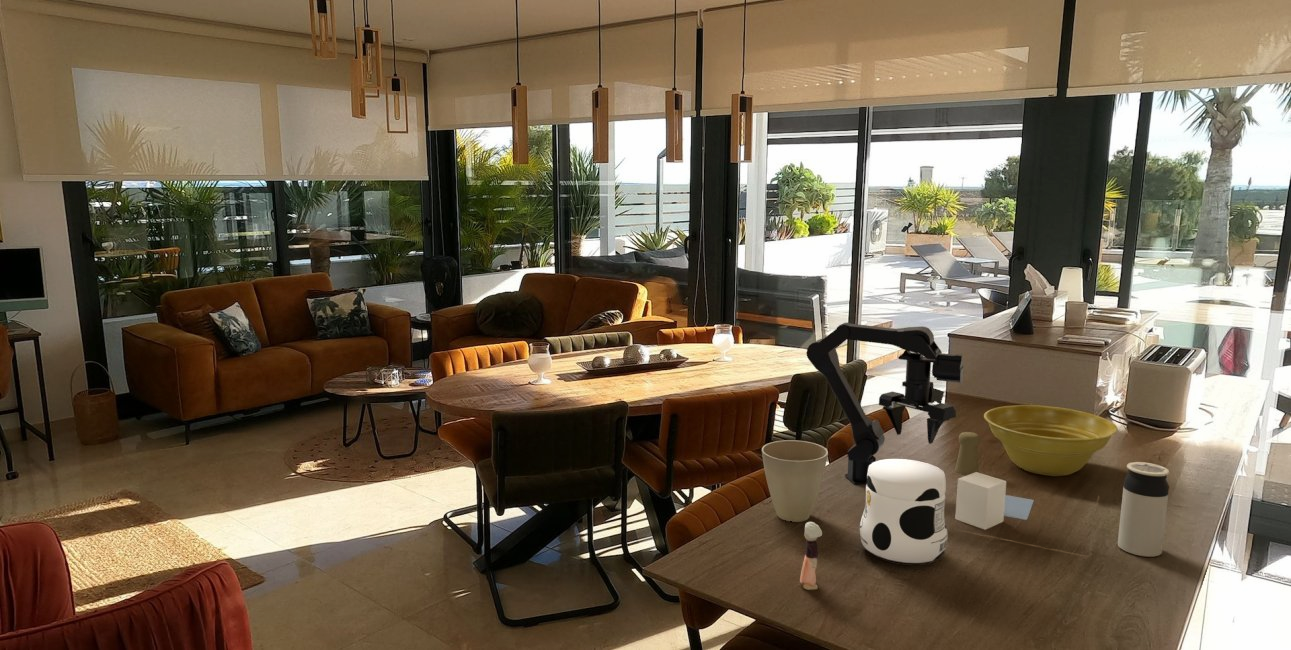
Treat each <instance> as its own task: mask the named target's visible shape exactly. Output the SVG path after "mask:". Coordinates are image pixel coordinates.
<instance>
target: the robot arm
mask: <svg viewBox="0 0 1291 650" xmlns="http://www.w3.org/2000/svg"><path fill="white" fill-rule="evenodd" d="M847 340H849V341H855V342H856V341H858V342H866V343H874V344H875V343H876V344H882V345H890V346H894V347H897V348H898V349H899V348H900V349H902V350H904V351H903V352H902V353H901V354H900V355H899V356H898V357H897V358H898V360H902V361H903V360H904V361H906V368H905V369H906V370H905V380H904V381H902V382H901V383H902V384H901V385H902V387H904V393H900V392H897V391H888V392H885V393H881V394H880V396H879V397H878V405H879V406H882V409H883V410H885V412H886V414H887V415H888V417H889V419H890V422H891V424H892V426H893V428H894V431H895V433H896V435H897V436H898V435H901V434H902V430H903V414H904V410H906V409H905V408H910V409H914V410H918V411H922V412H926V413H927V415H928V416H929V417H928V418H926V431H927V440H928V441H927V442H928V445H929V444H930V445H931V444H933V443H934V441H935V438H936V436H937V434H938V432H939V430H940V428H941V426H942V424H944V422H946V421H950V420H951V419H954V418H956V416H957V415H956V414H957V410H956V408H955V406H954V405H951V404H946V403H943V402H942V401H943V397H944V394H945V391H944V390H940V389H938V388H935V387H934V382H933V381H931V375H932V376H933V378H936V381H943V382H949V383H960V384H961V383H962V382H963V379H964V371H965V365H964V359H963V357H964V355H963V354H960V353H954V354H952V353H942V350H941V349H940V347H939V346H938V344H937V343H936V342H935V337H934V333H933V331H932V330H931V329H930V328H929V327H926V326H923V325H922V326H909V327H908V326H907V327H900V328H892V327H882V326H876V325H875V326H873V325H866V324H856V323H851V322H843V323H841V324H839V325H838V326H836V328H835V329H834V330H833V331H832V332H831V333H829V334H828V335H827V336H825V337H824V338H820V339H817V340H816V341H814V342H812V343H811V344H809V346H808V347H807V349H806V357H807V359H808V361H809V362H810V363H811V364H812V365H813V367H814V369H816V370H817V371H818V372H819V373H820V374H821V375H822V376H824V378H825V379H826V382H827V383H828V385H829V386H830V389H831V391H832V393H833V395H834V396H835V397H836V399H837V402H838V403H839V405H840V407H841V410H843V413H844V415H845V416H846V418H847V420H848V422H849V424H850V426H851V433H852V438H853V441H854V444H853V445H852V446H851V447H850V448H849V450H847V452H846V455H847V458H848V459H847V473H844V477H845V478H846V479H847V480H849V481H851V483H852V484H854V485H862V484H867V473H868V467H869V465H870V464H872V463H873V462H876V461H877V458H876V457H875V456H874V455H876V454H877V453H878V452H879V451H880V450H881V448H882V447H883V446H884V444H885V440H886V439H885V435H884V434H885V433H886V432H885V430H883V429H882V427H881V424H880V422H879V420H878V419H877V418H876V419H874V420H872V419H870V418H869V417H868V416H867V414H866V413H865V411H864V409H863V407H862V405H861V403H860V402H859V399H858V398H857V397H856V395H855V393H854V391H853V389H852V387H851V386H850V383H849V382H848V380H847V378H846V376H845V375H844V372H843V370H842V369H841V367H840V360H839V355H838V352H837V350H836V349H837V348H838V347H839V346H841V345H842V344H843V343H845V342H846V341H847ZM934 403H936V404H934ZM931 404H932V405H931Z"/></svg>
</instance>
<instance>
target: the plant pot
mask: <svg viewBox="0 0 1291 650" xmlns="http://www.w3.org/2000/svg"><path fill="white" fill-rule="evenodd" d="M761 454H762V455H761V456H762V461H763V463H762V464H763V468H764V474H765V478H766V482H767V487H768V490H769V494H770V497H771V500H772V504H773V507H774V509H775V513H776V515H777V517H778V518H779V519H781V520H783V521H785V520H786V522H790V521H792V522H794V523H801V522H805V521H807V520H808V519H809V518H810V517H811V515H812V512H813V509H814V508H815V505H816V502H817V500H818V496H819V493H820V490H821V487H822V483H823V480H824V476H825V475H824V474H825V472H826V465H827V461H828V454H829V452H828V449H827V448H826V447H825V446H823V445H820V444H817V443H815V442H810V441H805V440H796V439H795V440H792V439H791V440H789V439H788V440H786V439H785V440H776V441H773V442H769V443H766V444H765V445H763V446H762V448H761Z"/></svg>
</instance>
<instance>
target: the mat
mask: <svg viewBox="0 0 1291 650" xmlns="http://www.w3.org/2000/svg"><path fill="white" fill-rule="evenodd" d="M1034 502H1035V500H1034V499H1031V498H1024V497H1019V496H1014V495H1010V494H1009V495H1008V494H1005V506H1004V517H1008V518H1014V519H1019V520H1024V521H1028V518H1029V515H1030V512H1031V509H1032V507H1033V504H1034Z"/></svg>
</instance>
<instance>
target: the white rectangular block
mask: <svg viewBox="0 0 1291 650" xmlns="http://www.w3.org/2000/svg"><path fill="white" fill-rule="evenodd" d="M956 485H957V486H956V502H955V516H954V517H955V518H954V520H957V521H959V522H962V523H966V524H968V525H971V526H974V527H976V528H979V529H981V530H984V531H986V530H988V529H990V528H992V527H994V526H997V525H999V524H1002V523H1003V522H1004V520H1005V519H1004V517H1005V516H1004V506H1005V495H1006V493H1007V492H1006V491H1007V481H1006V480H1004V479H1001V478H999V477H998V478H997V477H993V476H990V475H988V474H984V473H981V472H979V473H978V472H975V473H972V474H969V475H963V476H962V477H959V478H957V484H956Z"/></svg>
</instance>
